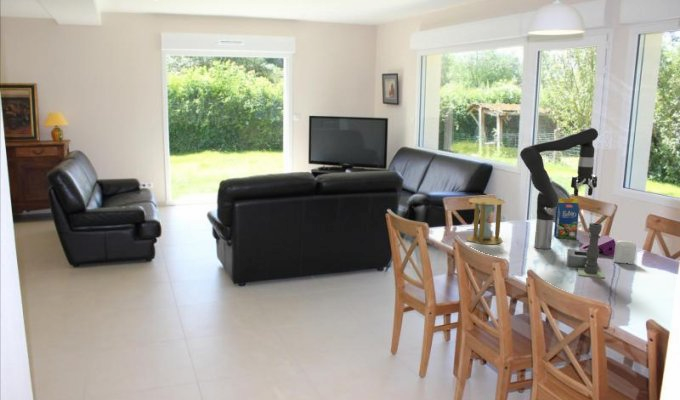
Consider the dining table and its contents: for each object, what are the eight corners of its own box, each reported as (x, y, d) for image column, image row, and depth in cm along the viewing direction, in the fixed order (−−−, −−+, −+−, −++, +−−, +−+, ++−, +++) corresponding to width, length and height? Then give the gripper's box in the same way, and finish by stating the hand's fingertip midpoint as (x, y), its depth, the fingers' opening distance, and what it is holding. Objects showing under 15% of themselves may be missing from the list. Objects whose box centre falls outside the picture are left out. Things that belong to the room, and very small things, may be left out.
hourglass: (470, 233, 375) (473, 195, 371) (506, 238, 366) (509, 198, 361) (461, 241, 354) (464, 201, 350) (499, 246, 345) (502, 205, 340)
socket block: (567, 266, 308) (568, 255, 307) (566, 259, 321) (567, 249, 320) (596, 269, 303) (597, 258, 302) (594, 262, 316) (595, 251, 315)
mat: (578, 275, 293) (578, 274, 293) (577, 268, 304) (577, 267, 304) (604, 278, 289) (604, 277, 289) (602, 271, 300) (602, 270, 300)
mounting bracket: (588, 265, 332) (619, 252, 330) (583, 252, 331) (613, 239, 329) (582, 260, 341) (611, 247, 340) (577, 247, 340) (606, 234, 338)
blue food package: (576, 238, 367) (580, 199, 362) (557, 238, 367) (560, 199, 362) (572, 236, 373) (576, 197, 368) (553, 236, 373) (557, 197, 368)
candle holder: (582, 270, 300) (586, 222, 295) (594, 270, 300) (599, 222, 295) (587, 274, 294) (592, 225, 289) (599, 274, 294) (604, 225, 289)
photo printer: (633, 262, 317) (636, 240, 315) (634, 264, 313) (637, 242, 311) (612, 260, 320) (615, 238, 318) (613, 262, 316) (616, 240, 314)
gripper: (578, 166, 304) (575, 197, 307) (602, 166, 308) (599, 196, 311) (569, 164, 311) (566, 194, 314) (592, 164, 315) (589, 193, 318)
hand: (582, 195), depth 312 cm, fingers open, 8 cm apart
